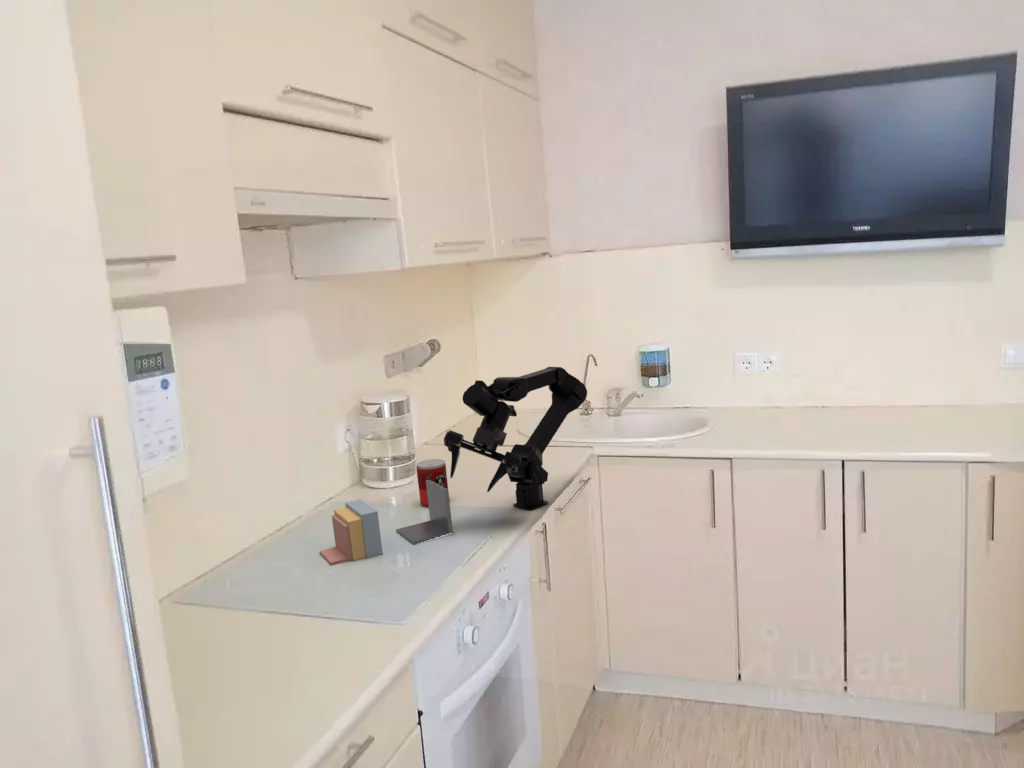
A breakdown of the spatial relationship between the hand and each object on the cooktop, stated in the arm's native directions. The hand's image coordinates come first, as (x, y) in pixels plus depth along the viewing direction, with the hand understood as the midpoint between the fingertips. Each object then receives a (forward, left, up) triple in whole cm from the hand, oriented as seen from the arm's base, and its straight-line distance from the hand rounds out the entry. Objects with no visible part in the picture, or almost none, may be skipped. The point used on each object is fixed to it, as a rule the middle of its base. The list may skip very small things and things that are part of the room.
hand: (469, 484), depth 193 cm
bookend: (+8, -9, -11) cm, 17 cm away
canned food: (-9, -26, -12) cm, 29 cm away
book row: (+25, -14, -11) cm, 31 cm away
